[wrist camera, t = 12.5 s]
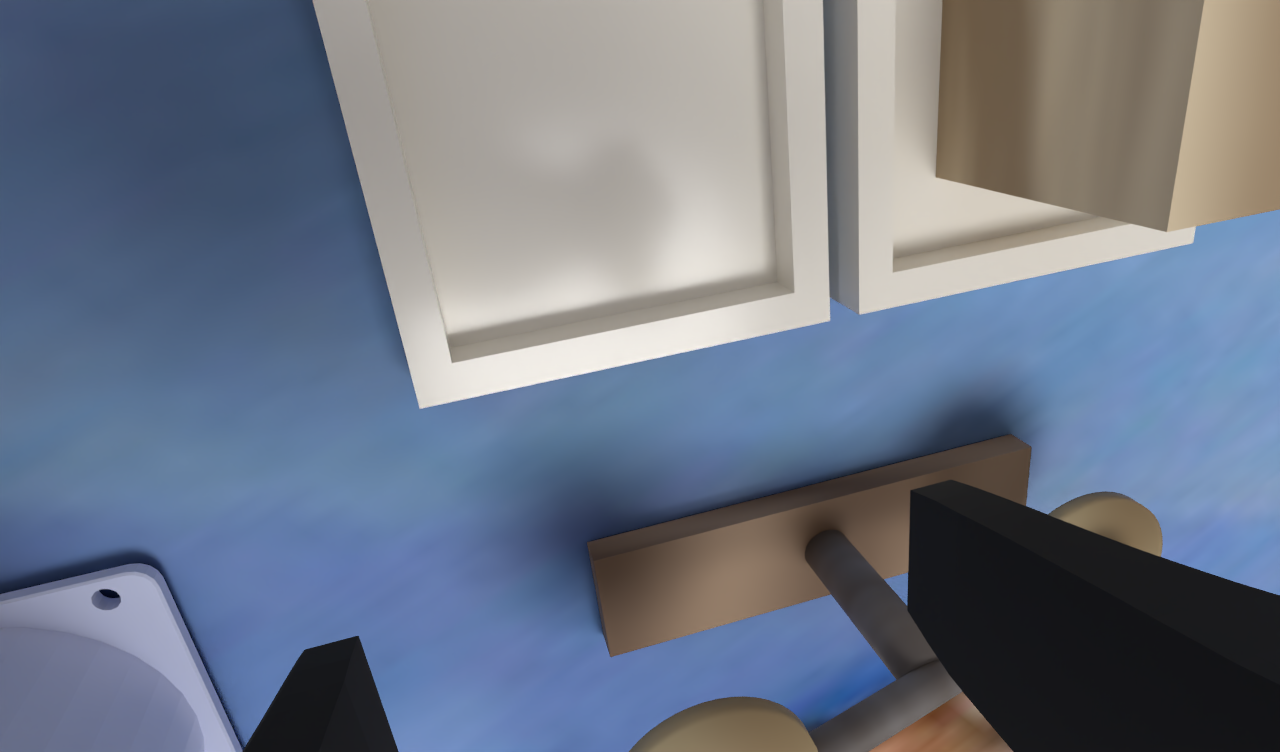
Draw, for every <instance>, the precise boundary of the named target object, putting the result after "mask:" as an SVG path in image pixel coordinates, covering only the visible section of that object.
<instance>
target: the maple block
mask: <svg viewBox="0 0 1280 752" xmlns="http://www.w3.org/2000/svg"><path fill="white" fill-rule="evenodd" d="M936 178H941V179H945V180H949V181H953V182H957V183H962V184H966V185H970V186H974V187H979V188H983V189H987V190H991V191H995V192H1000V193H1004V194H1008V195H1012V196H1016V197H1021V198H1025V199H1029V200H1033V201H1037V202H1042V203H1046V204H1050V205H1054V206H1059V207H1063V208H1067V209H1071V210H1075V211H1080V212H1084V213H1088V214H1092V215H1096V216H1101V217H1105V218H1109V219H1113V220H1118V221H1122V222H1126V223H1130V224H1134V225H1139V226H1143V227H1147V228H1151V229H1155V230H1160V231H1164V232H1170V231H1175V230H1180V229H1185V228H1190V227H1195V226H1200V225H1205V224H1210V223H1215V222H1220V221H1224V220H1229V219H1234V218H1239V217H1244V216H1249V215H1254V214H1259V213H1264V212H1269V211H1274V210H1279V209H1280V0H942V26H941V52H940V77H939V103H938V129H937V155H936Z"/></svg>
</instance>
